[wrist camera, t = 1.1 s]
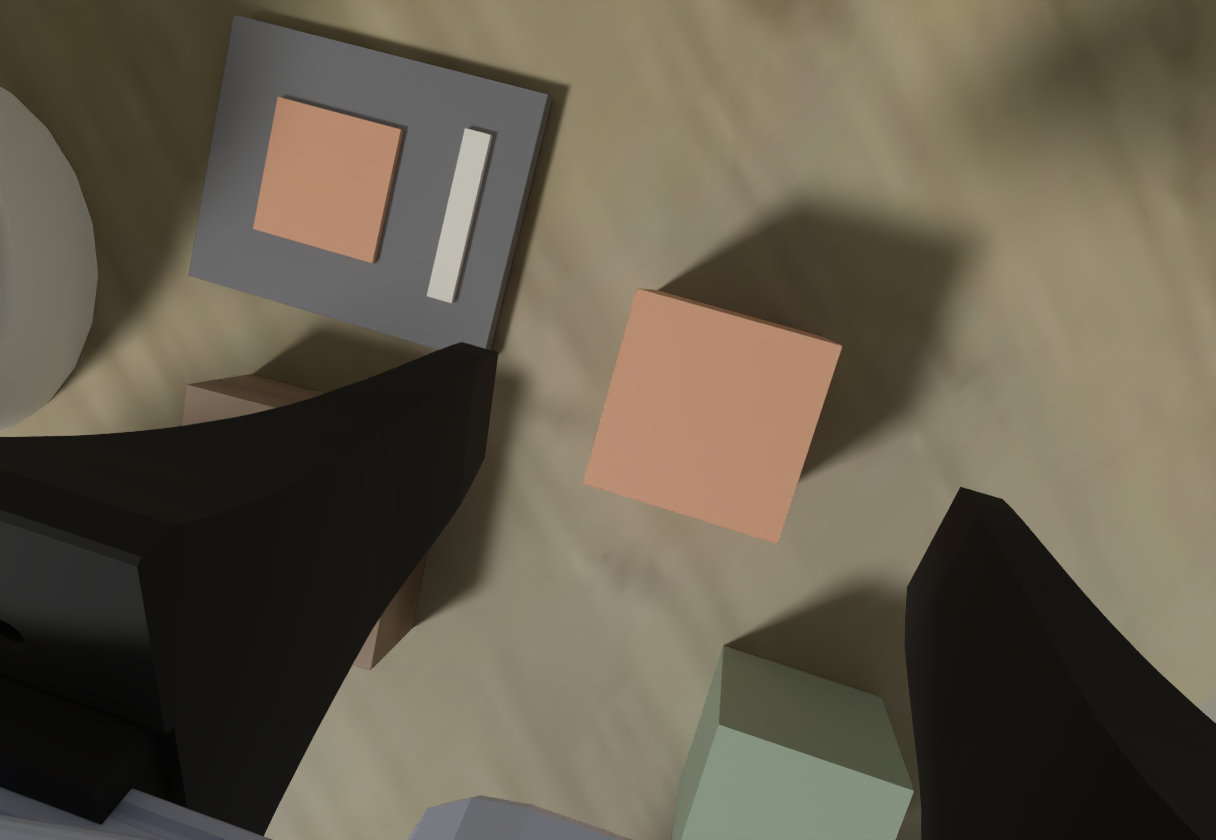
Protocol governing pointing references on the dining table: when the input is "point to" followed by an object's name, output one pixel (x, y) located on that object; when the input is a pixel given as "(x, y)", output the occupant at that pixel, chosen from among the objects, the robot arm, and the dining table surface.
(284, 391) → the walnut base
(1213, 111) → the dining table surface
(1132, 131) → the dining table surface
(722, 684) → the sage block
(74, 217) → the honey pot
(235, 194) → the card
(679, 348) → the terracotta block
